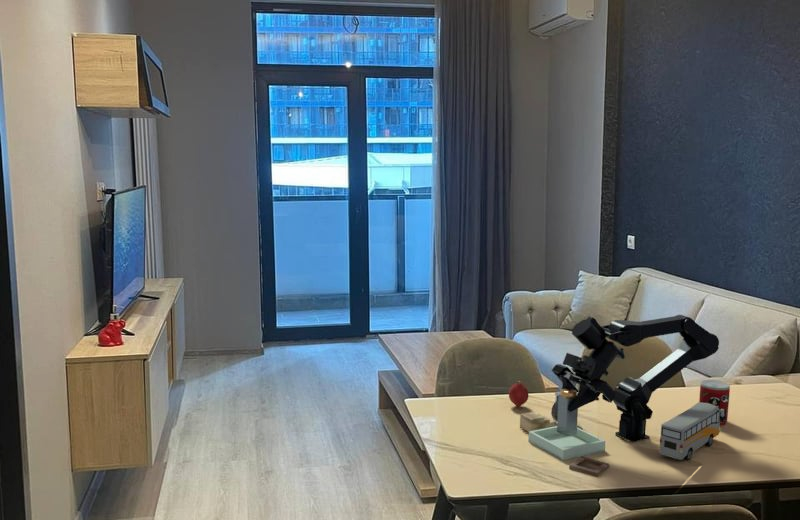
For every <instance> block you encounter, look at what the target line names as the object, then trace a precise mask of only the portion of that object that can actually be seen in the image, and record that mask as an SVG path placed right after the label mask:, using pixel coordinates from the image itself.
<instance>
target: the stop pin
mask: <svg viewBox="0 0 800 520" xmlns="http://www.w3.org/2000/svg"><path fill="white" fill-rule="evenodd" d="M560 391H561V392H560V395H558V421H557V422H556V426H557V432H559V433H561V434H563V435H565V436H570V435H574V434H577V427H578V417H579V416H578V415H579V408H578V409H576V410H574V411H572V412H569V411H568V407H569V406H570V404H571V402H572V401H573V399H574V398H575V396H576V395H577V391H575V390H573V389H562V388H561V389H560Z"/></svg>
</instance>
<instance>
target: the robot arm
mask: <svg viewBox="0 0 800 520" xmlns="http://www.w3.org/2000/svg"><path fill="white" fill-rule="evenodd" d="M678 333H679V335H680V336H681V337H682V339H681V342H680V344H679V346H678V348H677V349H676V350H674V351H673V352H672V353H670V354H669V355H667V356H666V357H665V358H664V359H663V360H661V361H660V362H659V363H657V364H656V365H655V366H653V367H652V368H651V369H649V370H648V371H647V372H646V373H644V374H642V376H640V377H639V378H636V379H634V378H633V377H631V376H626V378H624V379H623V380H622V381H621V382H619V383H617V384H616V385H615V386H616V387H614V388H612V386H611V385H610V384H609V383H608V381H606V380H603V379H601V378H602V377H603V376H605V377H607V376H608V375H609V372H608V371H607V370H608V368H609V367H610V366H611V364H612V363H613V362H614V360H615V359H616V358H617V359H621V360H624V359H625V357H626V356H625V352H624V348H622V347H619V346H617V345H616V344H619V345H621V346H623V347H632V346H635V345H637V344H639V343H641V342H643V340H645V339H648V338H654V337H659V336H666V335H672V334H678ZM571 334H572V335H573V337H574V338H575V339H576V340H577V341H578V342H579V343H580V344H581V345H582V346H583V347H584V348H585V349H586V350H591V352H590V353H589V354H588V355H585V354H584V355H583V356H581V357H580V356H578V355H575V354H572V353H569V352H566V354H565V357H564V358H563V361H562V363H561V364H560V363H559V364H555V365H554V366H553V367H552V369H551V372H552V373H553V374H554V375H555V376H556V377H557V379H558V380H559V381H560V382H561V383H562V387H561V390H562V389H573V390H575V391H577V395H576V396H575V398H574V399H573V401H572V402H571V404H570V406H569V407H568V411H569V412H572V411H574V410H576V409H578V410H579V408H581V407H584V406H586V405H588V404H590V403H592V402H595V401H598V402H599V401H600V398H599V397H600V395H601V394H602V395H601V398H602V400H604V401H605V402H607V403H610V404H611V403H614V404H615V406H616V410H618V411H619V412H621V414H620V419H619V425H618V431H616V432H614V433H615V436H618V437H620V438H622V439H625V440H627V441H628V442H631V443H635V442H639V441H644V440H648V439H650V437H651V436H649V435H647V434H646V429H647V428H646V427H647V420H651V418H652V415H653V410H652V409H651V408H650V407H649V405H648V403H649V402H650V399H651V396H652V394H653V393H654V392H655V391H657V389H659V388H660V387H662V386H663V385H664V384H665V383H667V382H668V381H669V380H671V379H672V378H674V376H676V375H677V374H679V373H680V372H682V370H684V369H685V368H686V367H687V366H689V365H690V364H691V363H693V362H696V361H701V360H704V359H707V358H709V357H710V356H713V355H715V354H716V353H717V352H718V350H719V348H720V347H719V345H720V340H719V337H718V336H717V335H716V334H714V333H711V332H709V331H708V330H706V329H705V328H704V327H702V326H701V325H699V324H698V323H697V322H695V320H693V318H692V317H689V316H687V315H683V314H677V315H675V316H668V317H660V318H655V319H649V320H641V321H632V320H622V319H615V320H612V321H610V322H609V324H605V325H602V326H601V325H600V323H598V321H597V320H596V318H595V317H593V316H590V315H589V316H588V317H587V318H586V319H582V320H580V321H579V322H577V323H576V324H575V325H574V326H573V328H572V330H571ZM608 339H609V340H608ZM615 343H616V344H615ZM577 385H578V386H579V388H578V389H577V388H576V386H577ZM557 405H558V404H557Z"/></svg>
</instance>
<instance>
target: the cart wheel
mask: <svg viewBox="0 0 800 520" xmlns="http://www.w3.org/2000/svg"><path fill="white" fill-rule="evenodd" d="M560 392H561V390H560V391H555V392H554V395H555V401H554V404H552V406H551V407H552V408H551V417H552V418H551V419H552V420H554V421H556V423H557V421H558V405H557V404H558V395H560Z"/></svg>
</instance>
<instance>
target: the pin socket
mask: <svg viewBox="0 0 800 520" xmlns="http://www.w3.org/2000/svg"><path fill="white" fill-rule="evenodd" d="M568 468H569V469H570V470H572V471H576V472H580V473H583V474H587V475H590V476H592V477H593V476H594V477H596V478H597V477H599V476H600V475H601V474H603V473H604V472H605V471H607V470H608V469H609V468H610V463H607V462H604V461H601V460H598V459H594V458H590V457H587V456H580V457H578V458H577V459H576V460H574V461H573V462H572V463H570V464H569V465H568Z"/></svg>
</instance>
